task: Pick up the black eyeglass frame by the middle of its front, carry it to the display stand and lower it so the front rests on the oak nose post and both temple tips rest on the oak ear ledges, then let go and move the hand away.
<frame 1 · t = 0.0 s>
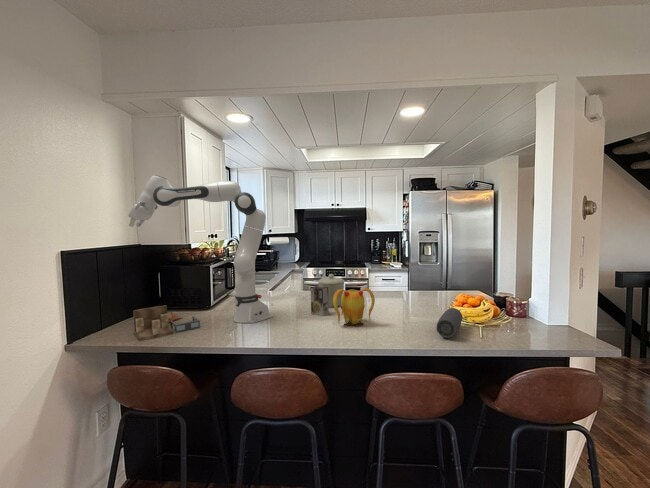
hand: (134, 226, 165), 54 cm above the countertop, tool tilted 30°, fingers open, 8 cm apart
glasses: (187, 330, 162), on the countertop
coffee box: (319, 314, 188), on the countertop
bluetooth speaker: (449, 333, 151), on the countertop
canister: (331, 305, 207), on the countertop
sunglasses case: (166, 323, 177), on the countertop
display stand: (156, 336, 153), on the countertop
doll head: (352, 323, 168), on the countertop
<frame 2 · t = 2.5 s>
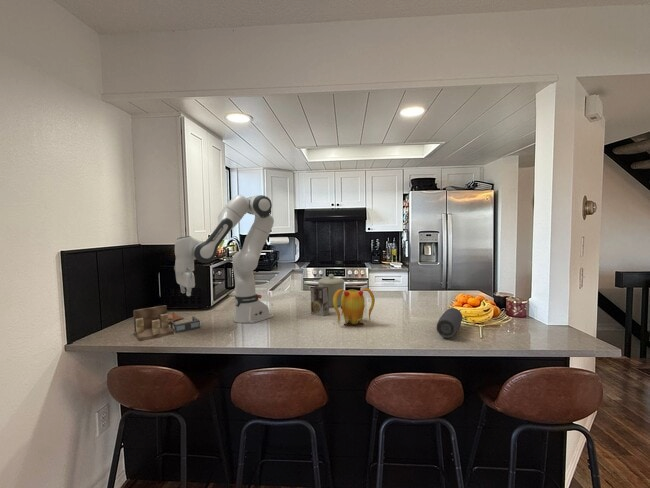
hand: (185, 294, 161), 19 cm above the countertop, tool pointing down, fingers open, 8 cm apart
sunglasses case: (167, 323, 176), on the countertop
everything else where it was.
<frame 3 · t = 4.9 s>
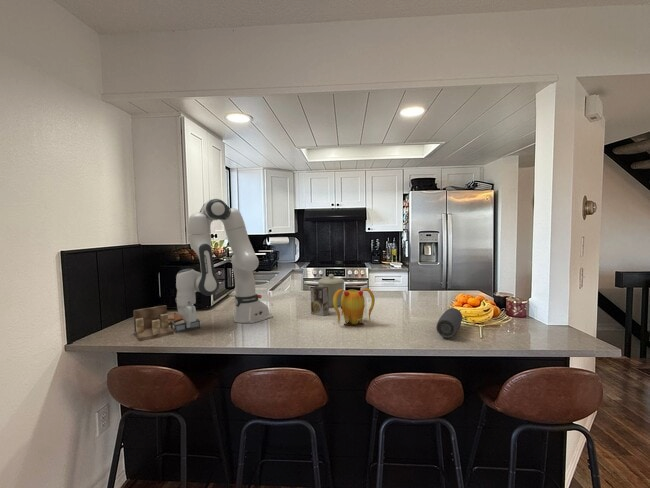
hand: (187, 326, 162), 2 cm above the countertop, tool pointing down, fingers closed on glasses, 2 cm apart
glasses: (187, 329, 162), on the countertop, touching gripper
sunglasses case: (169, 323, 176), on the countertop
everything else where it was.
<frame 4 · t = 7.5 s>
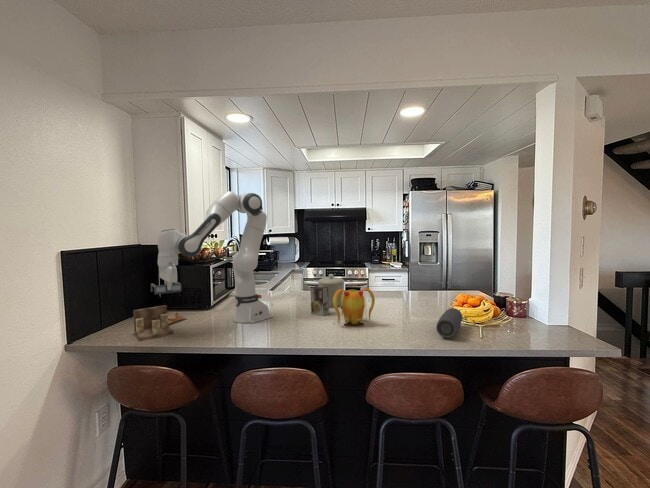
hand: (168, 289, 156), 22 cm above the countertop, tool pointing down, fingers closed on glasses
glasses: (168, 292, 156), point 21 cm above the countertop, touching gripper
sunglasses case: (170, 323, 176), on the countertop
everything else where it was.
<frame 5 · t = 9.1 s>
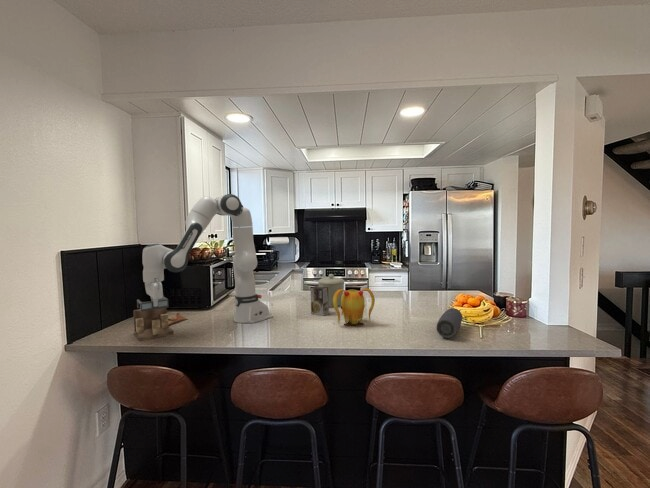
hand: (154, 305, 152), 15 cm above the countertop, tool pointing down, fingers closed on glasses
glasses: (154, 309, 152), point 14 cm above the countertop, touching gripper
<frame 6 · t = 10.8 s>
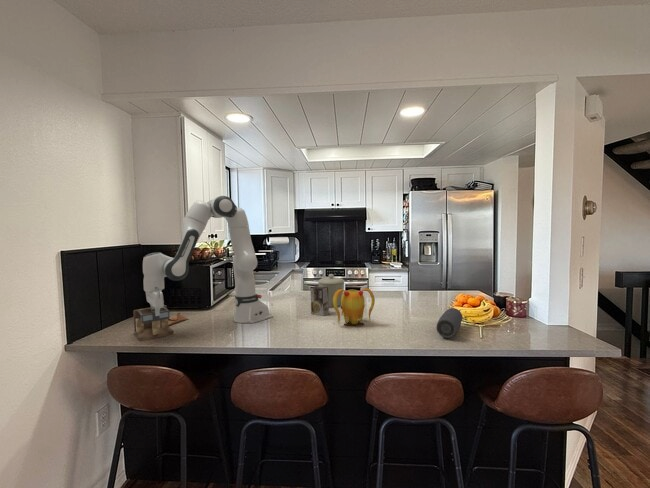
hand: (155, 314, 152), 11 cm above the countertop, tool pointing down, fingers open, 6 cm apart
glasses: (155, 320, 153), point 8 cm above the countertop, touching display stand
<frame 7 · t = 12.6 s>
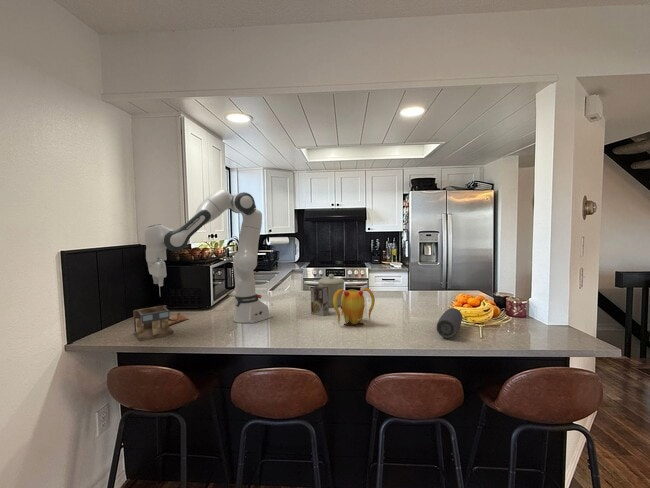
hand: (158, 284, 156), 25 cm above the countertop, tool pointing down, fingers open, 8 cm apart
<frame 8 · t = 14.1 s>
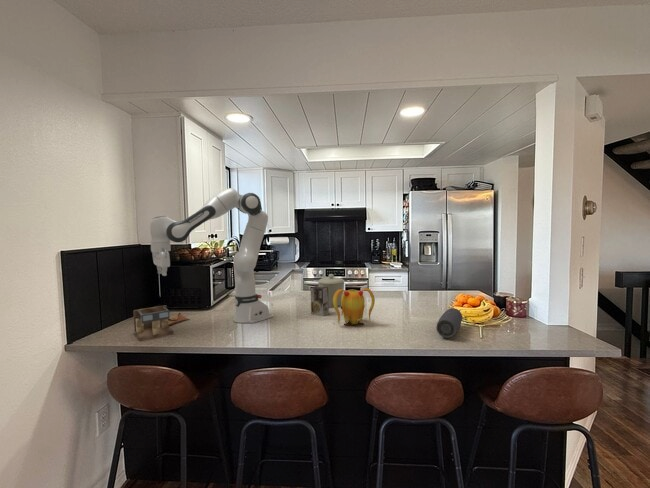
hand: (162, 274, 161), 29 cm above the countertop, tool pointing down, fingers open, 8 cm apart
at the end: glasses 0.0 cm off-centre on the display stand, point 8.0 cm above the display stand's base; glasses tilted 0°; the gripper is holding nothing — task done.
